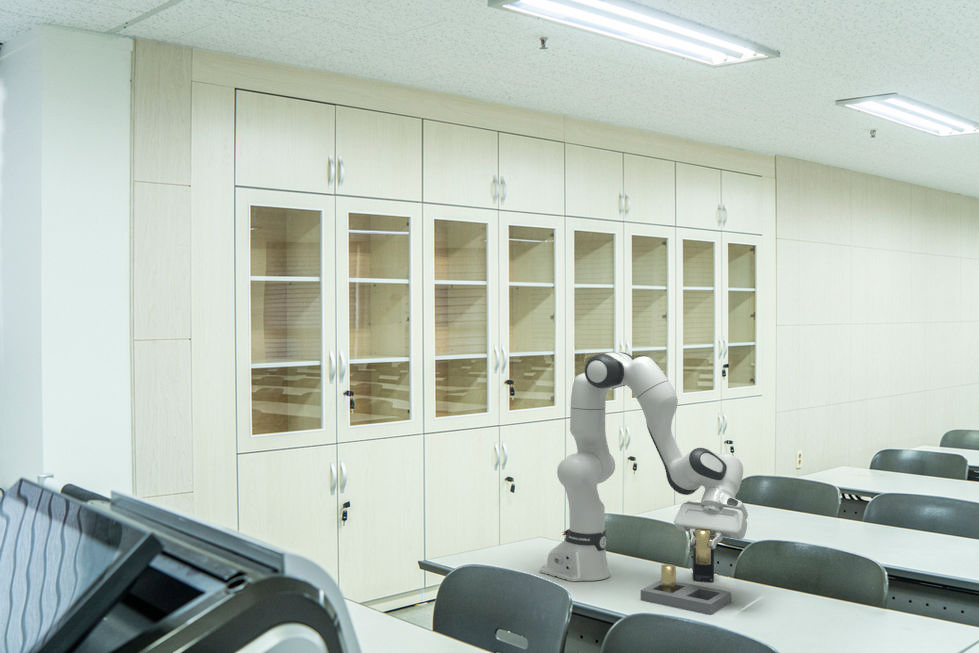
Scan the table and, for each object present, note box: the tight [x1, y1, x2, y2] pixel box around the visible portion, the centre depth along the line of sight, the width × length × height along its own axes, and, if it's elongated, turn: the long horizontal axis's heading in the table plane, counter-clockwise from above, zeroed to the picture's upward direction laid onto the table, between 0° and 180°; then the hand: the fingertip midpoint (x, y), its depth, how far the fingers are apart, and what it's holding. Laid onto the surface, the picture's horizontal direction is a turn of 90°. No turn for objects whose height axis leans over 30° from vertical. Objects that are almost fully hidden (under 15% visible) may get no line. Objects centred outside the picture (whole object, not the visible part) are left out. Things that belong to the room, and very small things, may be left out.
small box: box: [692, 545, 715, 583], centre depth 269 cm, size 11×6×10 cm, turn 168°
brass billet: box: [695, 529, 712, 565], centre depth 240 cm, size 4×4×9 cm
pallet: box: [640, 579, 732, 616], centre depth 243 cm, size 21×14×4 cm, turn 52°
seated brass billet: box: [661, 563, 677, 593], centre depth 246 cm, size 4×4×9 cm
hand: (702, 545), depth 239 cm, fingers closed on brass billet, 4 cm apart
